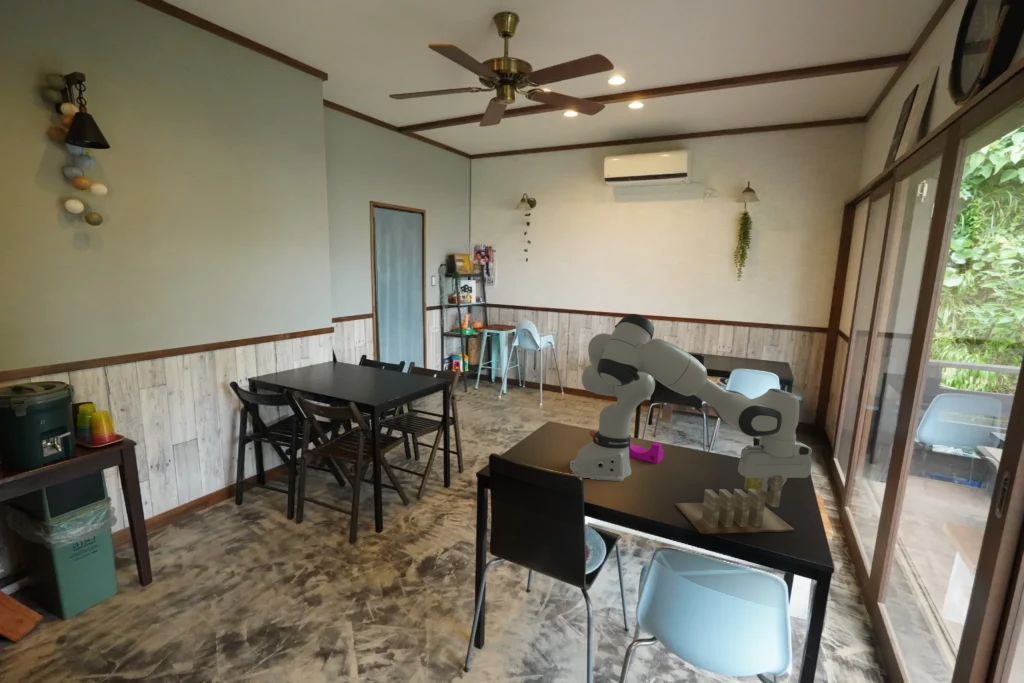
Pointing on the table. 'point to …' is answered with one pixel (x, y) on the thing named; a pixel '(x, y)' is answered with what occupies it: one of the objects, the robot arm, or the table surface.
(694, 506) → the board
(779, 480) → the domino
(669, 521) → the table surface
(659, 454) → the toy block
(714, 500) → the domino
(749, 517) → the domino
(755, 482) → the sauce bottle
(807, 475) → the robot arm
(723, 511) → the domino
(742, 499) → the domino
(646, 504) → the table surface
